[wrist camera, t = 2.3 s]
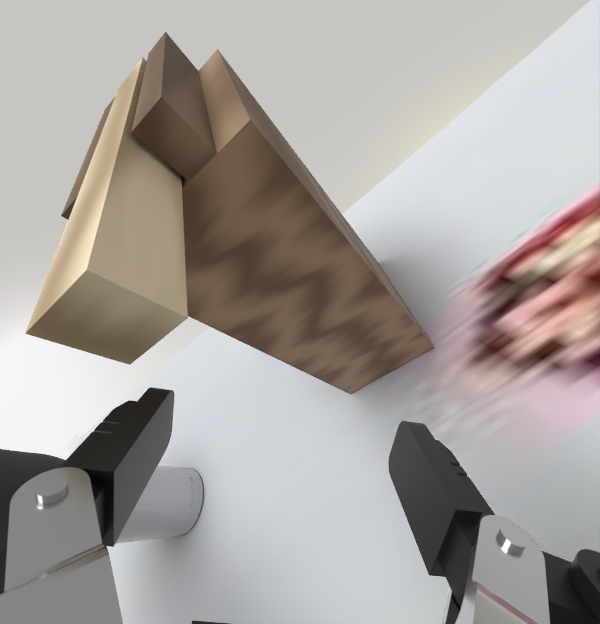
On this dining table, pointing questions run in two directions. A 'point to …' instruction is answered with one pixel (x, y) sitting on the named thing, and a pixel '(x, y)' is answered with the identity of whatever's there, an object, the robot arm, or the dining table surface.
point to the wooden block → (118, 248)
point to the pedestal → (265, 231)
